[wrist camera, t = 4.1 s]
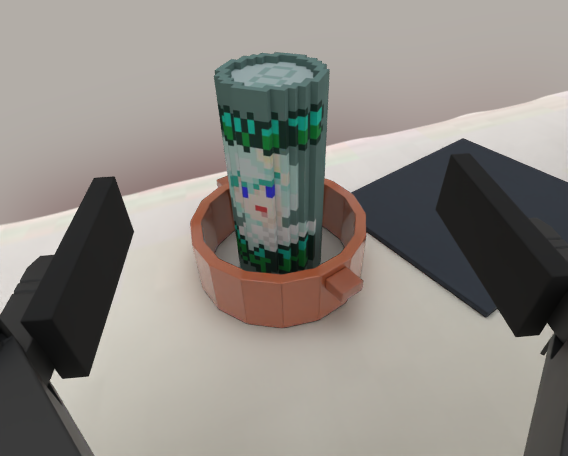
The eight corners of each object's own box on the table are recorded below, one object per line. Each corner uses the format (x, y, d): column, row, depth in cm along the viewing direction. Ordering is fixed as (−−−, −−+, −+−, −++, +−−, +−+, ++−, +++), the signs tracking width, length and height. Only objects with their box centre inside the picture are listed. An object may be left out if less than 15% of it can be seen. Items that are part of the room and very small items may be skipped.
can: (228, 277, 30) (195, 82, 21) (261, 229, 35) (246, 49, 25) (303, 299, 29) (305, 96, 19) (327, 245, 33) (339, 58, 23)
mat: (461, 142, 46) (463, 138, 45) (616, 208, 36) (618, 203, 35) (331, 206, 37) (331, 201, 37) (486, 317, 27) (488, 313, 27)
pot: (285, 189, 39) (284, 148, 36) (410, 284, 29) (422, 239, 27) (167, 241, 34) (154, 198, 31) (271, 379, 24) (267, 336, 21)
